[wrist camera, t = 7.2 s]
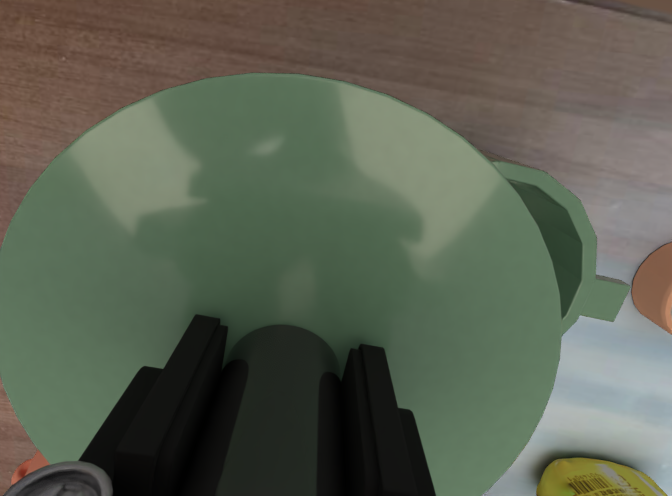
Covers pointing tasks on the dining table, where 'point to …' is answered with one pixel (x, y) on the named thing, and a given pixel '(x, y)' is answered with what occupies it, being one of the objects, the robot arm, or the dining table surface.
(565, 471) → the bottle
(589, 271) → the pot
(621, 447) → the dining table surface
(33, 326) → the pot lid
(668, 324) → the salt shaker
